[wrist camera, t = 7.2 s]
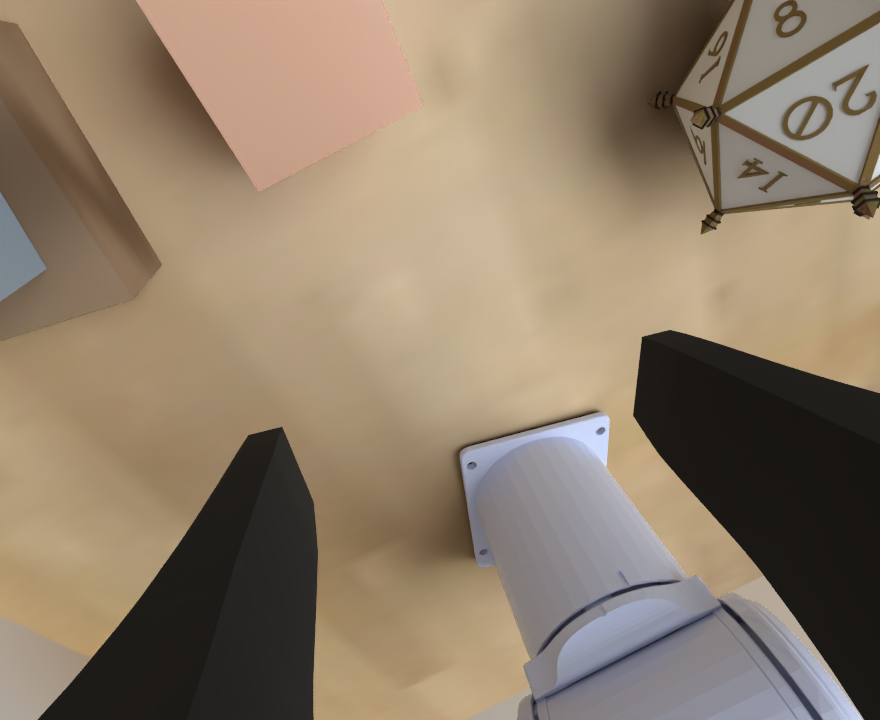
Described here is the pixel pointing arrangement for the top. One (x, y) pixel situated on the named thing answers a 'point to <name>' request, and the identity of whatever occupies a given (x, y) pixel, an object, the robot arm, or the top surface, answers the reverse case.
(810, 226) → the top surface
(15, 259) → the slate block
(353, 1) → the terracotta block
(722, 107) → the game die
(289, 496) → the robot arm
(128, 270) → the walnut base
